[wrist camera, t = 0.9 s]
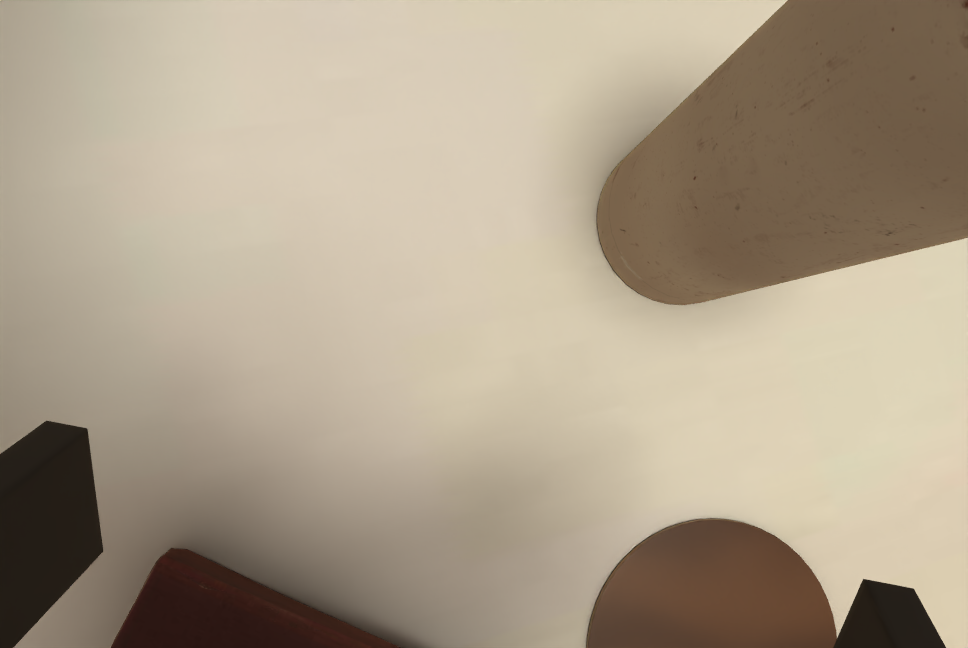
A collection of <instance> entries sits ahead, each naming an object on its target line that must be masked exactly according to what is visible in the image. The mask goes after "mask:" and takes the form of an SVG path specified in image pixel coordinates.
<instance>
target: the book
mask: <svg viewBox="0 0 968 648" xmlns="http://www.w3.org/2000/svg"><path fill="white" fill-rule="evenodd" d="M111 648H401V647H398V646H396V645H394V644H392V643H389V642H387V641H385V640H383V639H381V638H378V637H376V636H374V635H371V634H369V633H367V632H365V631H362V630H360V629H358V628H356V627H353V626H351V625H349V624H347V623H345V622H343V621H340V620H338V619H336V618H333V617H331V616H329V615H326V614H324V613H322V612H320V611H318V610H315V609H313V608H311V607H309V606H306V605H304V604H302V603H300V602H298V601H295V600H293V599H291V598H289V597H286V596H284V595H282V594H280V593H278V592H275V591H273V590H271V589H269V588H267V587H265V586H263V585H261V584H258V583H256V582H254V581H252V580H250V579H248V578H246V577H244V576H242V575H240V574H238V573H235V572H233V571H231V570H229V569H227V568H225V567H223V566H221V565H219V564H216V563H214V562H212V561H210V560H208V559H206V558H204V557H202V556H200V555H198V554H196V553H194V552H192V551H189V550H187V549H175V548H171V549H170V550H169V551H168V552H166V553H165V554H164V555H162V556H161V557H160V558H159V559H158V561H157V562H156V563H155V565H154V567H153V568H152V570H151V572H150V574H149V575H148V577H147V579H146V581H145V583H144V585H143V587H142V589H141V591H140V593H139V595H138V597H137V599H136V601H135V603H134V605H133V606H132V608H131V610H130V612H129V614H128V616H127V617H126V619H125V621H124V623H123V625H122V627H121V629H120V631H119V632H118V634H117V636H116V638H115V640H114V642H113V644H112V646H111Z"/></svg>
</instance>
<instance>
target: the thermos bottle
mask: <svg viewBox="0 0 968 648" xmlns="http://www.w3.org/2000/svg"><path fill="white" fill-rule="evenodd" d="M597 227H598V233H599V239H600V243H601V245H602V248H603V251H604V253H605V256H606V258H607V260H608V261H609V263H610V265H611V266H612V268H613V270H614V271H615V272H616V273H617V274H618V275H619V277H620V278H621V279H622V280H623V281H624V282H625V283H626V284H627V285H629V286H630V287H631V288H633V289H634V290H635V291H637V292H638V293H640V294H642V295H644V296H646V297H648V298H650V299H652V300H655V301H659V302H663V303H666V304H676V305H687V304H694V303H701V302H705V301H709V300H713V299H717V298H721V297H726V296H730V295H734V294H738V293H742V292H746V291H750V290H754V289H758V288H763V287H767V286H771V285H775V284H779V283H783V282H787V281H791V280H796V279H800V278H804V277H808V276H812V275H816V274H820V273H824V272H828V271H833V270H837V269H841V268H845V267H849V266H853V265H857V264H861V263H866V262H870V261H874V260H878V259H882V258H886V257H890V256H894V255H898V254H903V253H907V252H911V251H915V250H919V249H923V248H927V247H931V246H935V245H940V244H944V243H948V242H952V241H956V240H960V239H964V238H968V0H788V1H787V2H786V3H785V4H784V5H783V6H782V7H781V8H779V9H778V10H777V11H776V12H775V13H774V14H773V15H772V16H771V17H770V18H769V19H768V20H767V21H766V22H765V23H764V24H763V25H762V26H761V27H760V28H759V29H758V30H757V31H756V32H755V33H754V34H753V35H752V36H751V37H749V38H748V39H747V40H746V41H745V42H744V43H743V44H742V45H741V46H740V47H739V48H738V49H737V50H736V51H735V52H734V53H733V54H732V55H731V56H730V57H729V58H728V59H727V60H726V61H725V62H724V63H723V64H722V65H720V66H719V67H718V68H717V69H716V70H715V71H714V72H713V73H712V74H711V75H710V76H709V77H708V78H707V79H706V80H705V81H704V82H703V83H702V84H701V85H700V86H699V87H698V88H697V89H696V90H695V91H694V92H693V93H692V94H690V95H689V96H688V97H687V98H686V99H685V100H684V101H683V102H682V103H681V104H680V105H679V106H678V107H677V108H676V109H675V110H674V111H673V112H672V113H671V114H670V115H669V116H668V117H667V118H666V119H665V120H664V121H663V122H661V123H660V124H659V125H658V126H657V127H656V128H655V129H654V130H653V131H652V132H651V133H650V134H649V135H648V136H647V137H646V138H645V139H644V140H643V141H642V142H641V143H640V144H639V145H638V146H637V147H636V148H635V149H634V150H633V151H631V152H630V153H629V154H628V155H627V156H626V157H625V158H624V159H623V160H622V161H621V162H620V163H619V164H618V165H617V166H616V168H615V169H614V170H613V172H612V173H611V175H610V176H609V177H608V179H607V181H606V183H605V186H604V188H603V190H602V192H601V196H600V200H599V205H598V214H597Z"/></svg>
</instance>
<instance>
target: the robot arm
mask: <svg viewBox="0 0 968 648" xmlns="http://www.w3.org/2000/svg"><path fill="white" fill-rule="evenodd" d="M102 552H103V545H102V538H101V530H100V522H99V515H98V507H97V499H96V492H95V484H94V476H93V469H92V461H91V453H90V446H89V438H88V430H87V428H82V427H77V426H71V425H66V424H61V423H56V422H51V421H46V422H44V423H43V424H41V425H40V426H39V427H37V428H36V429H34V430H33V431H32V432H30V433H29V434H28V435H26V436H25V437H23V438H22V439H21V440H19V441H18V442H16V443H15V444H14V445H12V446H11V447H10V448H8V449H7V450H5V451H4V452H3V453H1V454H0V648H13V647H14V646H15V645H16V644H17V643H18V642H19V641H20V640H21V639H22V638H23V637H24V636H25V634H26V633H27V632H28V631H29V630H30V629H31V628H32V627H33V626H34V625H35V624H36V623H37V622H38V621H39V619H40V618H41V617H42V616H43V615H44V614H45V613H46V612H47V611H48V610H49V609H50V608H51V607H52V606H53V605H54V603H55V602H56V601H57V600H58V599H59V598H60V597H61V596H62V595H63V594H64V593H65V592H66V591H67V590H68V589H69V587H70V586H71V585H72V584H73V583H74V582H75V581H76V580H77V579H78V578H79V577H80V576H81V575H82V574H83V573H84V571H85V570H86V569H87V568H88V567H89V566H90V565H91V564H92V563H93V562H94V561H95V560H96V559H97V558H98V556H99V555H100V554H101V553H102ZM833 648H946V647H945V645H944V643H943V641H942V640H941V638H940V636H939V634H938V632H937V630H936V629H935V627H934V625H933V623H932V621H931V619H930V618H929V616H928V614H927V612H926V610H925V608H924V607H923V605H922V603H921V601H920V599H919V598H918V596H917V594H916V592H915V590H914V589H912V588H907V587H902V586H897V585H892V584H887V583H881V582H876V581H871V580H866V579H863V581H862V583H861V585H860V588H859V590H858V592H857V595H856V597H855V599H854V601H853V604H852V606H851V608H850V611H849V613H848V615H847V617H846V620H845V622H844V624H843V627H842V629H841V631H840V633H839V636H838V638H837V640H836V643H835V645H834V647H833Z"/></svg>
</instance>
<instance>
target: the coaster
mask: <svg viewBox="0 0 968 648" xmlns="http://www.w3.org/2000/svg"><path fill="white" fill-rule="evenodd" d="M836 640H837V636H836V628H835V624H834V619H833V614H832V611H831V608H830V605H829V602H828V599H827V597H826V595H825V593H824V591H823V589H822V586H821V584H820V583H819V581H818V579H817V578H816V576H815V575H814V573H813V572H812V570H811V569H810V568H809V566H808V565H807V564H806V563H805V562H804V560H803V559H802V558H801V557H800V556H799V555H798V554H797V553H796V552H795V551H794V550H793V549H792V548H790V547H789V546H788V545H787V544H785V543H784V542H782V541H781V540H780V539H778V538H777V537H775V536H773V535H772V534H770V533H768V532H766V531H764V530H762V529H760V528H757V527H754V526H751V525H749V524H746V523H742V522H738V521H733V520H727V519H700V520H693V521H688V522H684V523H679V524H677V525H674V526H671V527H669V528H666V529H664V530H662V531H660V532H658V533H656V534H654V535H652V536H650V537H649V538H648V539H646V540H645V541H643V542H642V543H641V544H639V545H638V546H636V547H635V548H634V549H633V550H632V551H631V552H630V553H629V554H628V555H627V556H626V557H625V558H624V559H623V560H622V561H621V562H620V564H619V565H618V566H617V567H616V568H615V570H614V571H613V572H612V574H611V575H610V577H609V579H608V580H607V582H606V583H605V585H604V587H603V589H602V591H601V593H600V595H599V597H598V599H597V601H596V604H595V607H594V610H593V613H592V617H591V620H590V625H589V630H588V635H587V648H833V647H834V645H835V643H836Z"/></svg>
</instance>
